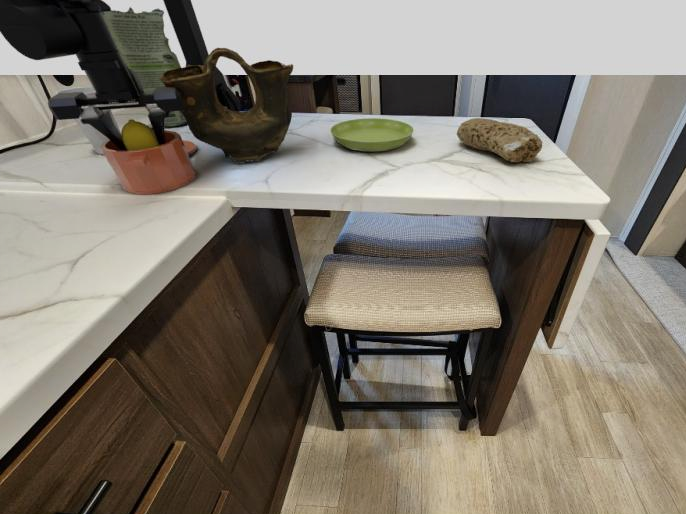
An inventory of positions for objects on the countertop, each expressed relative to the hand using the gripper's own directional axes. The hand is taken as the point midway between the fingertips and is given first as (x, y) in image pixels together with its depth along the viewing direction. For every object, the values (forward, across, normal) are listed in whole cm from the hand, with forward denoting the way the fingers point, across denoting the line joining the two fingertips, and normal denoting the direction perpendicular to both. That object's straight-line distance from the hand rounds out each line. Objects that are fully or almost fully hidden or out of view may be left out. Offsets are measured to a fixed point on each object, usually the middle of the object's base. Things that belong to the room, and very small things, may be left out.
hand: (148, 154), depth 62 cm
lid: (+4, +1, -16) cm, 17 cm away
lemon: (+2, 0, 0) cm, 2 cm away
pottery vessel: (+5, -18, -8) cm, 20 cm away
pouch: (+5, +1, -44) cm, 44 cm away
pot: (+5, 0, 0) cm, 5 cm away
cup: (+5, +13, -24) cm, 28 cm away
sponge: (+5, -72, +9) cm, 73 cm away
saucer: (+5, -47, -8) cm, 48 cm away
